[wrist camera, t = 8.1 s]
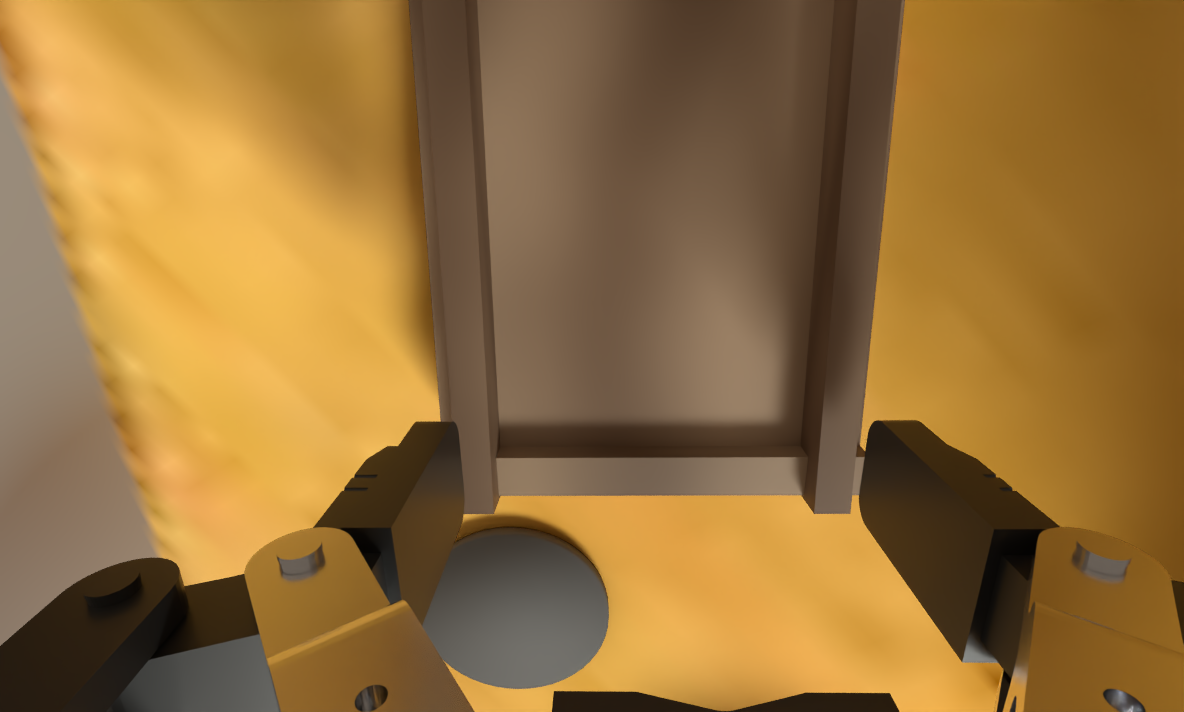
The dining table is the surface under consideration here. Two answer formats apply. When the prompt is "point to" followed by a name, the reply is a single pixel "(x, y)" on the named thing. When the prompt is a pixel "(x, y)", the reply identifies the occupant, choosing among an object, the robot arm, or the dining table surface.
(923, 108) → the dining table surface
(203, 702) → the robot arm
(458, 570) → the coaster
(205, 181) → the dining table surface
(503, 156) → the walnut ramp
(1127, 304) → the dining table surface
